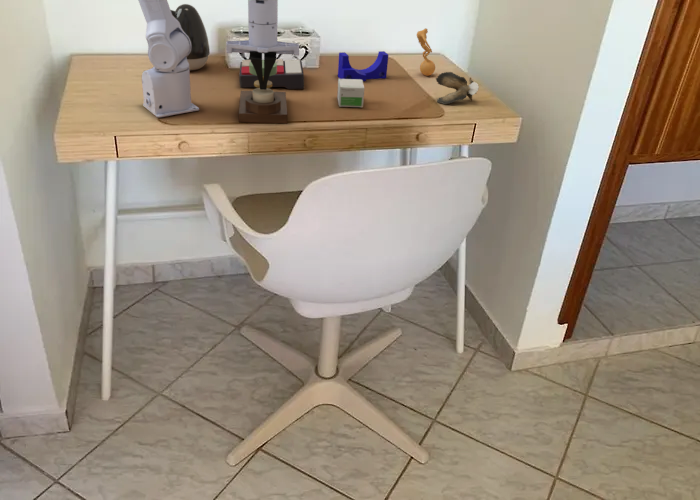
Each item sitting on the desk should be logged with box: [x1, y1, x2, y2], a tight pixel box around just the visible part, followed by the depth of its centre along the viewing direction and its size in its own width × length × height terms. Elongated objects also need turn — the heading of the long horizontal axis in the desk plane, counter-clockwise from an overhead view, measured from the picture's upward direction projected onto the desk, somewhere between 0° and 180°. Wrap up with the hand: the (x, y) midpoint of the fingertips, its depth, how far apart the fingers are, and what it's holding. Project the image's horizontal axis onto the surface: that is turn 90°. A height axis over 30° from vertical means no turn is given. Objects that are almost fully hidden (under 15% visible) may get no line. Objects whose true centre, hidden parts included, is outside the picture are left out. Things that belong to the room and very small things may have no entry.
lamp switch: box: [251, 87, 275, 103], centre depth 141 cm, size 4×4×2 cm
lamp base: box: [238, 90, 288, 124], centre depth 145 cm, size 14×10×4 cm
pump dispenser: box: [170, 3, 211, 72], centre depth 164 cm, size 10×10×15 cm
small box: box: [336, 78, 365, 109], centre depth 153 cm, size 6×6×5 cm
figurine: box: [416, 28, 436, 77], centre depth 172 cm, size 8×6×12 cm
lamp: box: [249, 59, 277, 89], centre depth 147 cm, size 6×6×5 cm
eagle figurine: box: [435, 71, 480, 105], centre depth 159 cm, size 8×7×9 cm
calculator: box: [238, 58, 305, 90], centre depth 162 cm, size 11×4×15 cm
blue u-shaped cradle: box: [337, 50, 389, 82], centre depth 168 cm, size 12×4×6 cm, turn 108°
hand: (263, 88), depth 140 cm, fingers closed
